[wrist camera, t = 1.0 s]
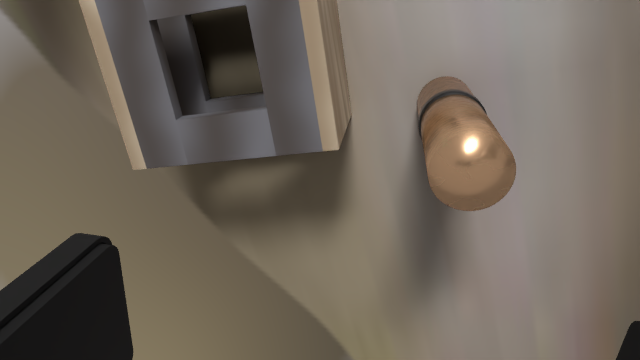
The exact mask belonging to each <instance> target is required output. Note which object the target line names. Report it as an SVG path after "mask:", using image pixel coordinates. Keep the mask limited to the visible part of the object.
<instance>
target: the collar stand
mask: <svg viewBox="0 0 640 360" xmlns="http://www.w3.org/2000/svg"><path fill="white" fill-rule="evenodd" d="M79 3H80V6H81V9H82V12H83V15H84V18H85V22H86V25H87V28H88V31H89V34H90V37H91V40H92V43H93V46H94V50H95V53H96V56H97V59H98V62H99V65H100V68H101V71H102V74H103V78H104V81H105V84H106V87H107V90H108V93H109V96H110V99H111V102H112V106H113V109H114V112H115V115H116V118H117V121H118V124H119V127H120V130H121V134H122V137H123V140H124V143H125V146H126V149H127V152H128V155H129V158H130V161H131V165H132V168H133V170H138V169H148V168H158V167H168V166H178V165H189V164H199V163H209V162H219V161H229V160H239V159H249V158H260V157H270V156H280V155H290V154H300V153H310V152H321V151H331V150H339V148H340V145H341V142H342V140H343V137H344V134H345V131H346V128H347V126H348V123H349V120H350V117H351V114H352V113H351V106H350V98H349V91H348V83H347V76H346V68H345V60H344V53H343V45H342V38H341V30H340V23H339V15H338V8H337V0H79ZM244 5H246V7H247V12H248V17H249V22H250V27H251V32H252V37H253V42H254V47H255V52H256V57H257V62H258V67H259V73H260V78H261V83H262V88H263V92H259V93H252V94H244V95H236V96H228V97H220V98H212V99H211V97H210V93H209V89H208V85H207V81H206V77H205V72H204V68H203V64H202V60H201V56H200V52H199V48H198V44H197V39H196V35H195V31H194V27H193V23H192V19H191V15H190V14H196V13H202V12H208V11H214V10H220V9H226V8H232V7H238V6H244Z"/></svg>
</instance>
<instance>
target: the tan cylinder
mask: <svg viewBox="0 0 640 360" xmlns="http://www.w3.org/2000/svg"><path fill="white" fill-rule="evenodd" d="M417 109H418V115H419V120H418V125H419V132H420V136H421V139H422V141H423V148H424V154H425V161H426V167H427V174H428V180H429V184H430V187H431V189H432V191H433V193H434V194H435V196H436V197H437V198H438V199H439V200H440V201H441V202H443V203H444V204H446V205H447V206H449V207H452V208H454V209H458V210H463V211H475V210H481V209H485V208H487V207H490V206H492V205H494V204H495V203H497V202H499V201H500V200H501V199H502V198H503V197H504V196H505V195H506V194H507V193H508V191H509V190H510V188H511V187H512V185H513V182H514V180H515V175H516V163H515V159H514V156H513V154H512V152H511V151H510V149H509V147H508V146H507V145H506V143H505V142H504V140H503V139H502V137H501V136H500V134H499V133H498V131H497V130H496V128H495V127H494V125H493V124H492V122H491V121H490V119H489V118H488V116H487V114H486V111H485V109H484V107H483V106H482V104H481V103H480V102H479V100H478V99H477V98H476V97H475V96H474V95H473V94H472V93H471V91H470V90H469V88H468V87H467V85H466V84H465V83H464V82H462V81H461V80H459V79H457V78H454V77H439V78H436V79H434V80H432V81H430V82H429V83H428V84H426V85H425V86H424V87H423V89H422V90H421V92H420V94H419V96H418V100H417Z"/></svg>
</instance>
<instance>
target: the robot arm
mask: <svg viewBox="0 0 640 360" xmlns="http://www.w3.org/2000/svg"><path fill="white" fill-rule="evenodd" d="M132 358H133V346H132V339H131V332H130V325H129V318H128V312H127V304H126V298H125V291H124V284H123V277H122V270H121V263H120V257H119V251H118V249H117V247H115V246H114V245H112V243H111V241H110V239H109V238H107V237H104V236H97V235H90V234H83V233H78V234H74V235H72V236H71V237H70V238H68V239H67V240H66V241H64V242H63V243H62V244H60V245H59V246H58V247H57V248H55V249H54V250H53V251H51V252H50V253H49V254H48V255H46V256H45V257H44V258H43V259H41V260H40V261H39V262H37V263H36V264H35V265H33V266H32V267H31V268H30V269H28V270H27V271H25V272H24V273H23V274H21V275H20V276H19V277H18V278H16V279H15V280H14V281H12V282H11V283H10V284H8V285H7V286H6V287H5V288H3V289H2V290H1V291H0V360H132ZM616 360H640V321H634V322H633V323H632V324H631V325H630V327H629V329H628V331H627V334H626V336H625V339H624V341H623V344H622V346H621V348H620V351H619V353H618V356H617V358H616Z"/></svg>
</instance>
